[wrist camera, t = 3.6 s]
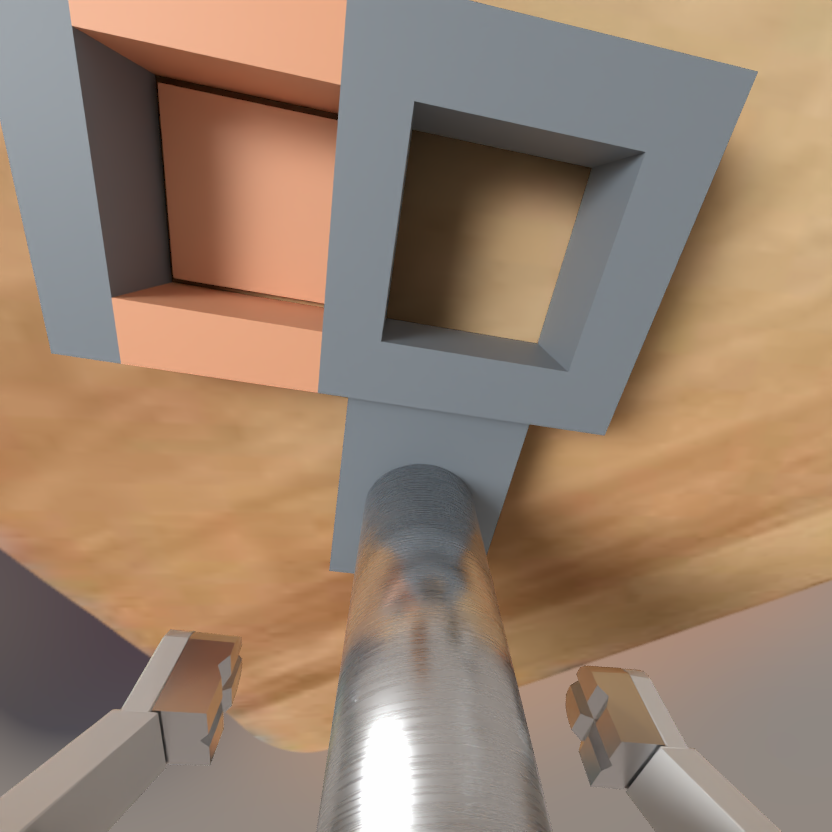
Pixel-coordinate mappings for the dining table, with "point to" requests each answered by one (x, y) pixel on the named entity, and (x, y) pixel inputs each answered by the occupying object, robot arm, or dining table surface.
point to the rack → (348, 206)
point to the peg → (427, 676)
